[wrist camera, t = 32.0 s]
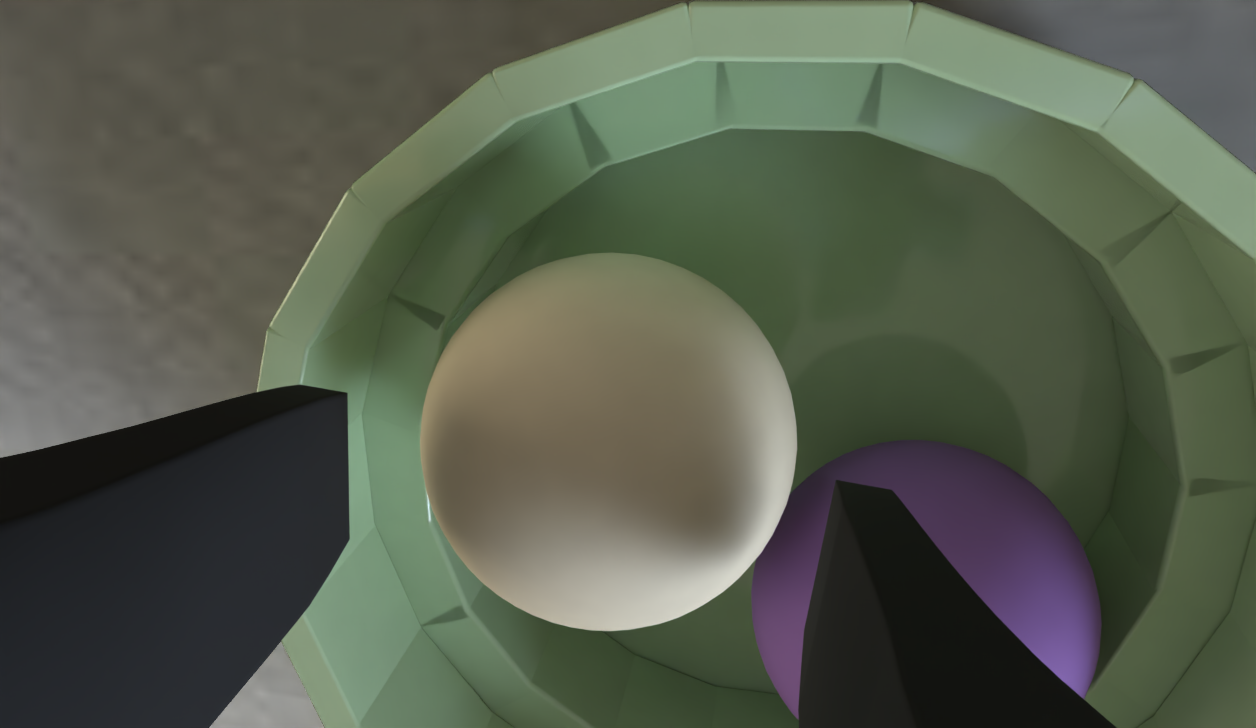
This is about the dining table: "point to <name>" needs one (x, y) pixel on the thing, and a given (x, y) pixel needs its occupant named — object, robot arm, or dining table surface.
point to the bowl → (809, 336)
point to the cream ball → (608, 441)
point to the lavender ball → (966, 535)
